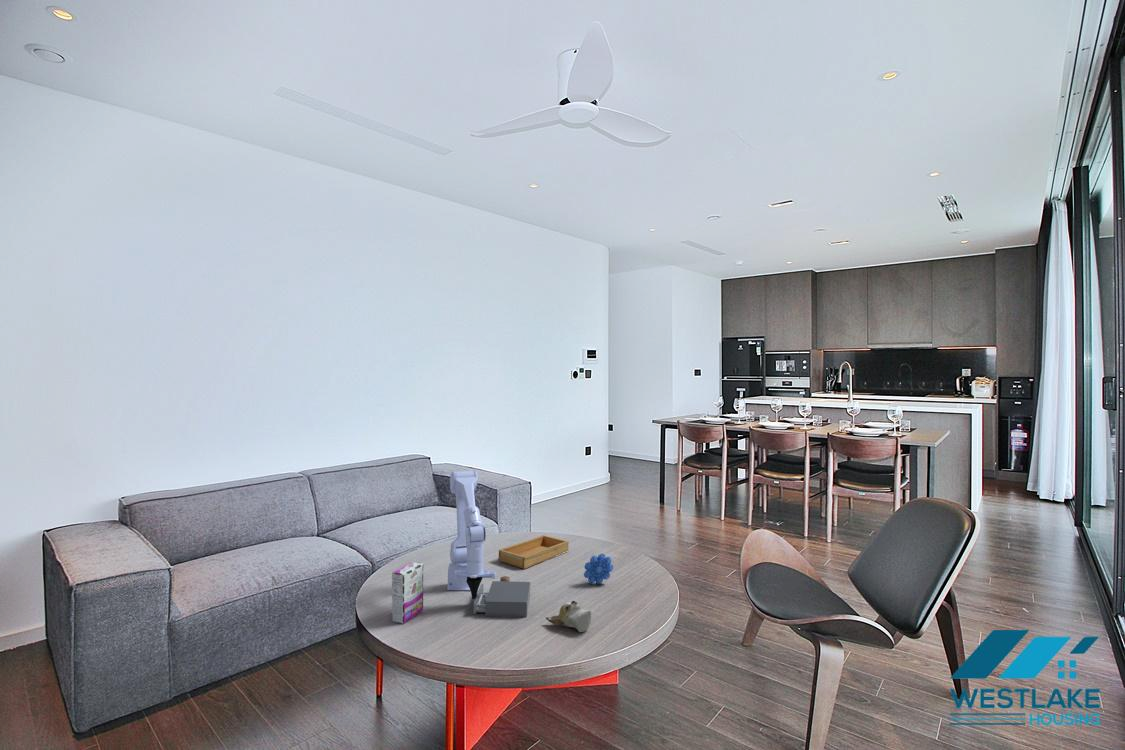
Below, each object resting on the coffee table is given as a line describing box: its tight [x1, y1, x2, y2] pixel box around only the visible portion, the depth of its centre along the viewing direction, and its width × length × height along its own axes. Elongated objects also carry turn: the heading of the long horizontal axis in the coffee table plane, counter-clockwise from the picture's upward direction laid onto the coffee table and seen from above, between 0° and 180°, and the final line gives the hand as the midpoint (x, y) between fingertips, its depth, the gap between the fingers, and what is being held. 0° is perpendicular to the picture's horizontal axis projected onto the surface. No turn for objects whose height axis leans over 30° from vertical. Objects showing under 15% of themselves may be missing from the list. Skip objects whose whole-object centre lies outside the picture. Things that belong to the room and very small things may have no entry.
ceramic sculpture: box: [545, 600, 592, 633], centre depth 178 cm, size 11×9×15 cm
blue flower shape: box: [583, 553, 614, 585], centre depth 215 cm, size 12×7×12 cm, turn 94°
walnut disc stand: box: [499, 575, 511, 582], centre depth 208 cm, size 6×6×4 cm
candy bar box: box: [391, 561, 424, 625], centre depth 183 cm, size 11×5×16 cm, turn 160°
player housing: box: [484, 580, 531, 618], centre depth 193 cm, size 14×18×5 cm
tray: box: [498, 534, 569, 570], centre depth 245 cm, size 31×15×6 cm, turn 142°
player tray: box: [472, 583, 489, 615], centre depth 193 cm, size 13×17×3 cm
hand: (474, 597), depth 193 cm, fingers closed
